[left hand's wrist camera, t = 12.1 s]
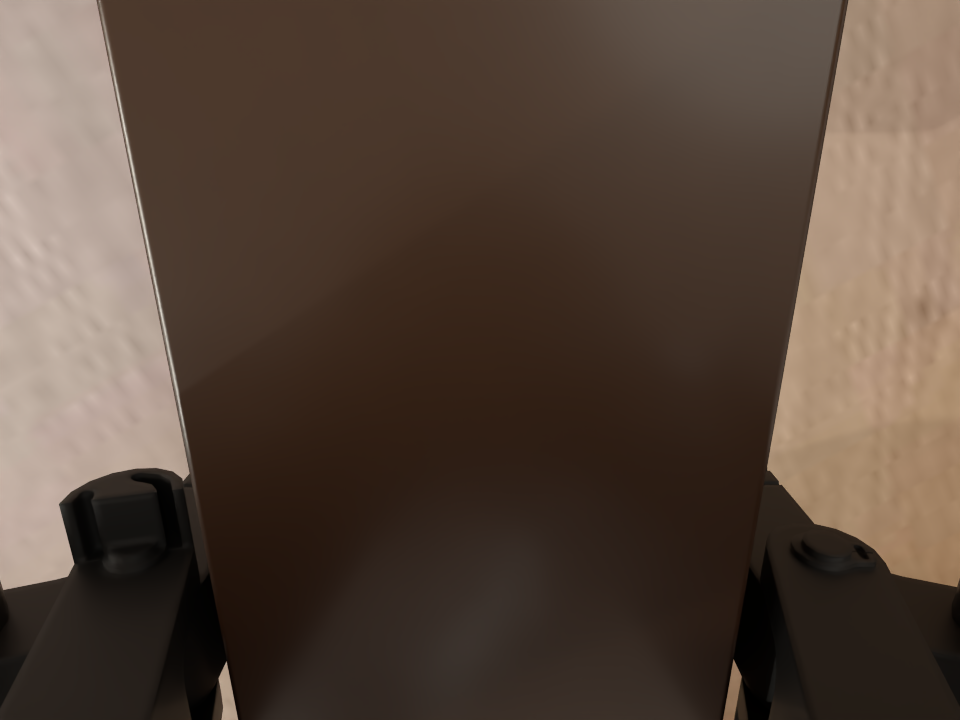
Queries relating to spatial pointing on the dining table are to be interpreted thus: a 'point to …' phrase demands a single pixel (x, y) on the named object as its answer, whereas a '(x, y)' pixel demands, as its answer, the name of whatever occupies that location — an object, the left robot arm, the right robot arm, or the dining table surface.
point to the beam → (476, 334)
